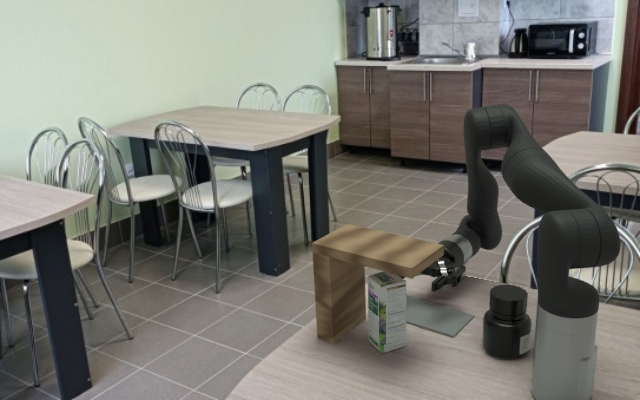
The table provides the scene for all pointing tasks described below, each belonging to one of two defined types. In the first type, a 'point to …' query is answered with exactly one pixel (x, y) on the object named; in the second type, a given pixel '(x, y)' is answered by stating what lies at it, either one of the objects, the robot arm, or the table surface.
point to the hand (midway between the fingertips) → (414, 282)
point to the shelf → (359, 272)
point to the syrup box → (386, 311)
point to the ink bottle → (507, 323)
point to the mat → (436, 317)
